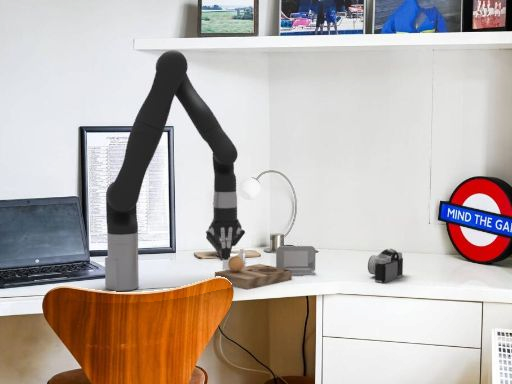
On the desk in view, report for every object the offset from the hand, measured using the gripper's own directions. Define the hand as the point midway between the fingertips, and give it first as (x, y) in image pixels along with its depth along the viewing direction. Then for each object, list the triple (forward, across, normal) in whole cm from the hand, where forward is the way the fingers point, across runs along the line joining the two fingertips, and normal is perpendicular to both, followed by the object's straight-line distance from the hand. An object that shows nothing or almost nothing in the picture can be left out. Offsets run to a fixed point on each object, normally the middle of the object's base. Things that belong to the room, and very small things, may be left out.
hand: (225, 259), depth 214 cm
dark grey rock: (+7, +7, +40) cm, 41 cm away
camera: (+8, +52, -6) cm, 53 cm away
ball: (+2, +3, 0) cm, 4 cm away
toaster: (+8, +25, +8) cm, 28 cm away
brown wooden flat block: (+7, +9, -1) cm, 12 cm away
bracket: (+8, +8, +24) cm, 27 cm away
